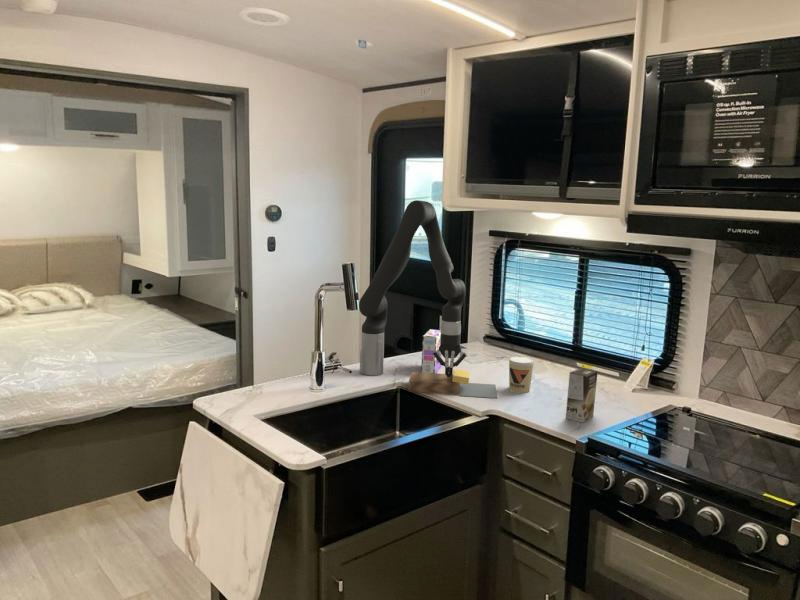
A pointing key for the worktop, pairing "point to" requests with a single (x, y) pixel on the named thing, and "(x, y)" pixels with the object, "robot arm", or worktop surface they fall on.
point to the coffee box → (581, 394)
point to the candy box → (430, 351)
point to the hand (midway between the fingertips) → (448, 376)
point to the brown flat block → (433, 383)
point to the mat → (478, 390)
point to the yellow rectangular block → (460, 376)
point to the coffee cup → (520, 374)
